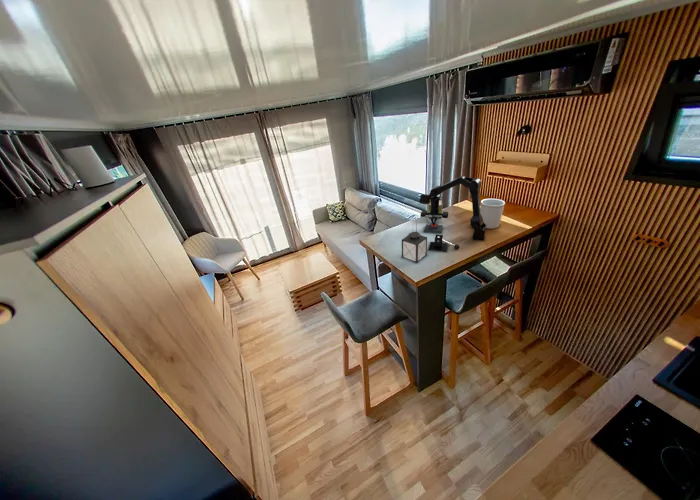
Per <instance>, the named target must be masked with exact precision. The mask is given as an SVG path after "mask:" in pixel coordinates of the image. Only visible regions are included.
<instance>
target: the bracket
mask: <svg viewBox="0 0 700 500" xmlns="http://www.w3.org/2000/svg"><path fill="white" fill-rule="evenodd" d="M437 236H439V237H442V238H437ZM442 239H443V240H444V235H443V234H435V237H434V241H430V242H429V246H428V251H432V252H433V251H434V252H441V253H442V252H444V253H447V251H448V245H449V244H447V243H444V242H442Z"/></svg>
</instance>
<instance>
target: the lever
mask: <svg viewBox="0 0 700 500" xmlns="http://www.w3.org/2000/svg"><path fill="white" fill-rule="evenodd" d="M437 238H442V237H439V236H437ZM442 243H447V244H448V245H449V246H451V247H453V248H454V249H455V250H458V249H460V245H459V244H458V243H456V244H454V243H452V242H450V241H447V240H445V239H444V238H443V239H442Z"/></svg>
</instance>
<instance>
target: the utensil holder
mask: <svg viewBox="0 0 700 500" xmlns="http://www.w3.org/2000/svg"><path fill="white" fill-rule="evenodd" d="M505 205H506V202H505V201H504V200H503V199H500V198H484V199H482V200H481V199H480V214H481V216H482V218H483V222H484V223H485V224H486V228H485V229H497V228H499V227H500V224H501V220H502V216H503V212H504V209H505Z"/></svg>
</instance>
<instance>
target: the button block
mask: <svg viewBox="0 0 700 500" xmlns="http://www.w3.org/2000/svg"><path fill="white" fill-rule="evenodd" d="M435 224H436V226H435V227H433V226H431V225H432V223H426V224H425V227H424V229H423V232H424V233H430V234H442V232H443V228H444V225H443V224H438V223H435Z"/></svg>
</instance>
